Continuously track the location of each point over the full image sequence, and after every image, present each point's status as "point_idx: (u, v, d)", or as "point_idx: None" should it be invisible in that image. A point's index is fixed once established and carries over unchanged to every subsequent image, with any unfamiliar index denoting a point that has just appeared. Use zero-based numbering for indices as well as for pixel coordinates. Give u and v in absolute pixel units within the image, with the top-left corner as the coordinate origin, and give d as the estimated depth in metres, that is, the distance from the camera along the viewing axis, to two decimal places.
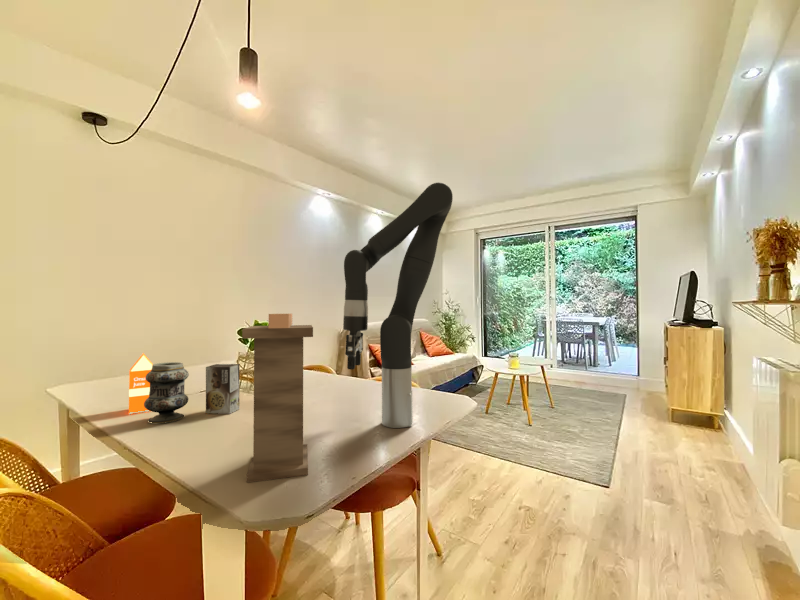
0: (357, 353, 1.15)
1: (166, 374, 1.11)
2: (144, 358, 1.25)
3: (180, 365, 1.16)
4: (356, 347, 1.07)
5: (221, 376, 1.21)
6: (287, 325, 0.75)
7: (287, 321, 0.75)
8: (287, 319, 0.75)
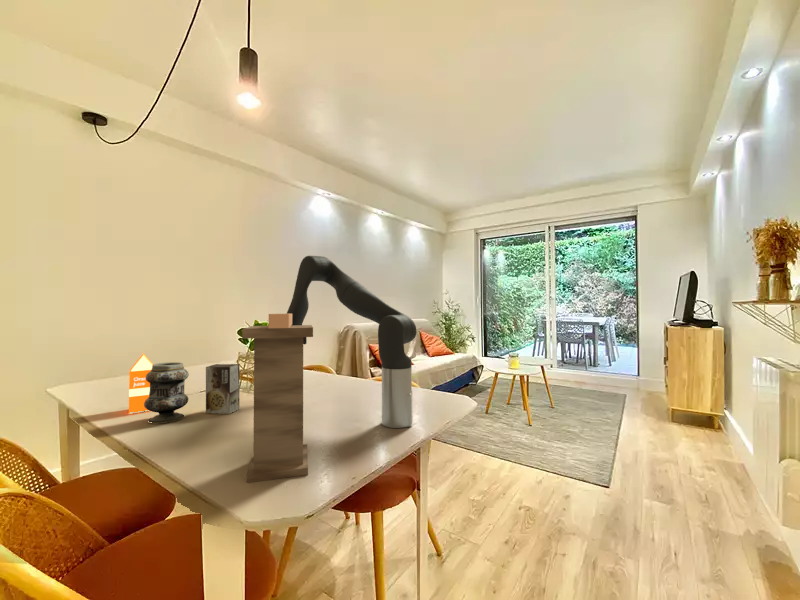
0: None
1: (166, 374, 1.11)
2: (144, 358, 1.25)
3: (180, 365, 1.16)
4: None
5: (221, 376, 1.21)
6: (287, 325, 0.75)
7: (287, 321, 0.75)
8: (287, 319, 0.75)
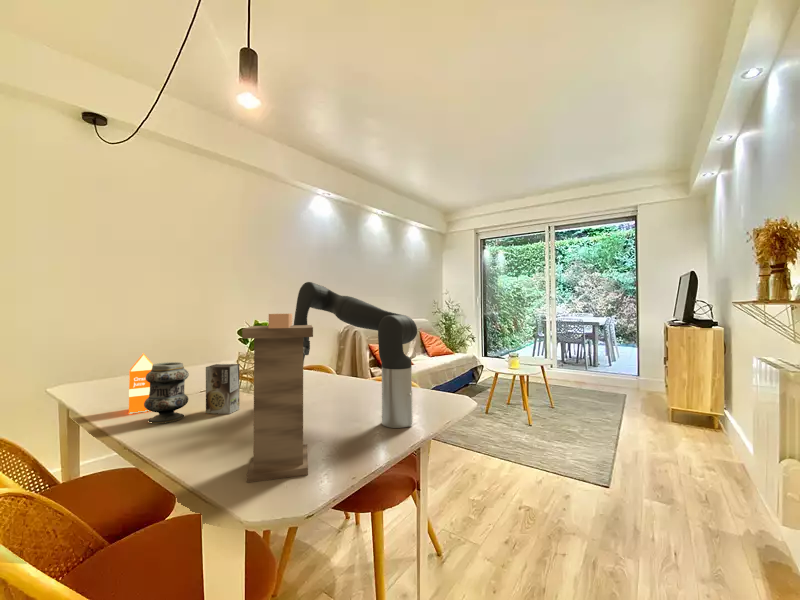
0: None
1: (166, 374, 1.11)
2: (144, 358, 1.25)
3: (180, 365, 1.16)
4: None
5: (221, 376, 1.21)
6: (287, 325, 0.75)
7: (287, 321, 0.75)
8: (287, 319, 0.75)
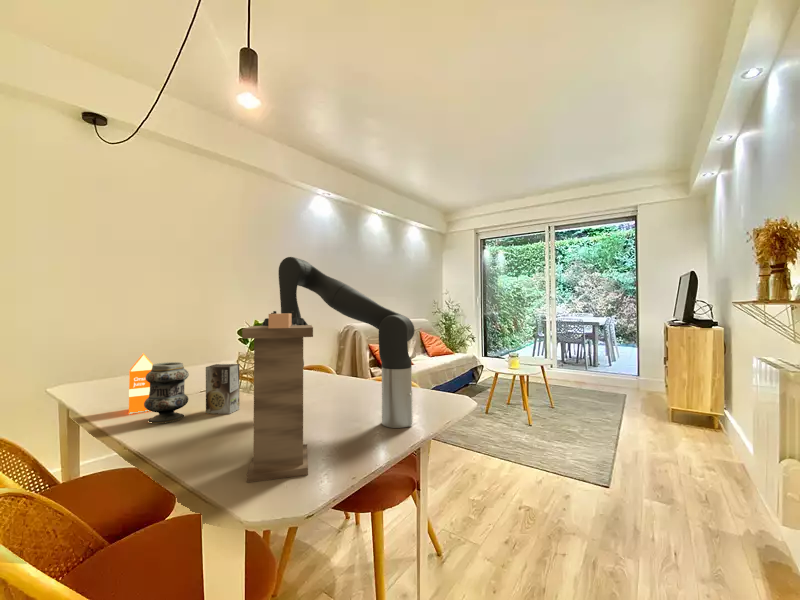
0: None
1: (166, 374, 1.11)
2: (144, 358, 1.25)
3: (180, 365, 1.16)
4: None
5: (221, 376, 1.21)
6: (287, 325, 0.75)
7: (287, 321, 0.75)
8: (287, 319, 0.75)
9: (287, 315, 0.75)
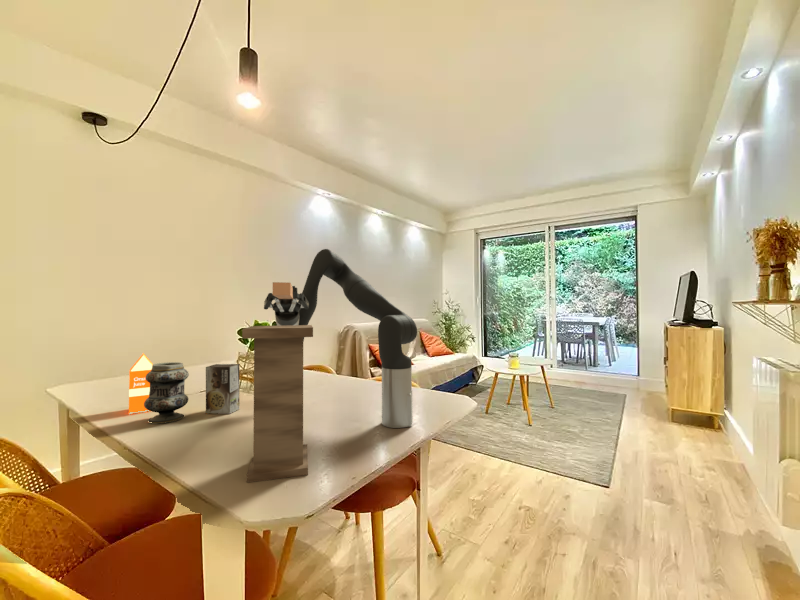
0: None
1: (166, 374, 1.11)
2: (144, 358, 1.25)
3: (180, 365, 1.16)
4: (295, 304, 1.09)
5: (221, 376, 1.21)
6: (289, 292, 0.85)
7: (289, 289, 0.85)
8: (289, 287, 0.85)
9: (289, 284, 0.85)
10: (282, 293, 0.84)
